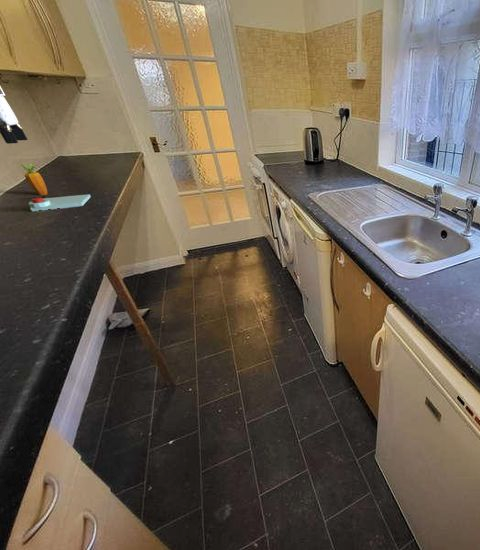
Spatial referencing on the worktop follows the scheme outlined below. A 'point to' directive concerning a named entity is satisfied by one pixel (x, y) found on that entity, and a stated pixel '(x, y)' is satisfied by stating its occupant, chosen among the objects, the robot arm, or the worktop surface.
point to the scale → (59, 202)
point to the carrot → (35, 181)
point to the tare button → (37, 200)
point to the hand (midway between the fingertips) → (17, 141)
